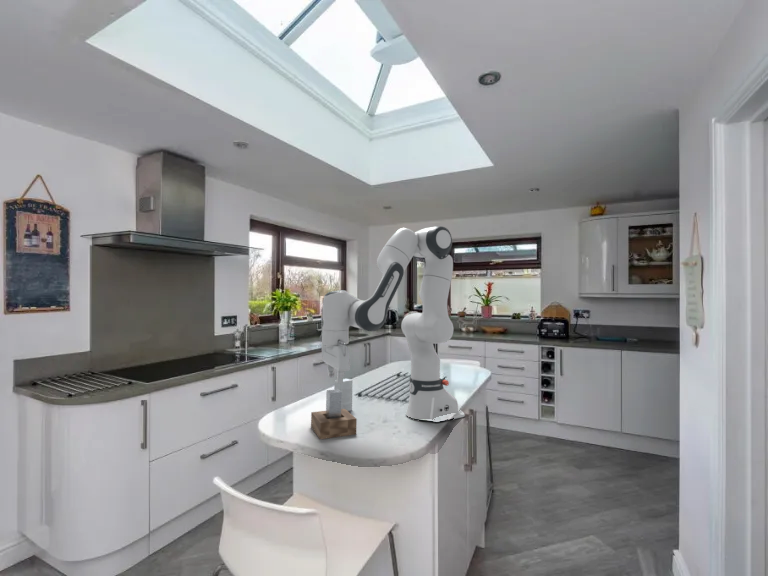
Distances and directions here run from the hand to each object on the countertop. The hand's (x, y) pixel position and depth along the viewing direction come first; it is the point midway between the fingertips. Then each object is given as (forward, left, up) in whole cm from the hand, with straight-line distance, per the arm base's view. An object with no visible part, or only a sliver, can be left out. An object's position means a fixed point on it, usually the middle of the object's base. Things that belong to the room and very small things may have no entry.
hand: (335, 379), depth 125 cm
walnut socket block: (0, 0, -17) cm, 17 cm away
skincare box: (-10, -20, -17) cm, 28 cm away
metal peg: (0, 0, -16) cm, 16 cm away
